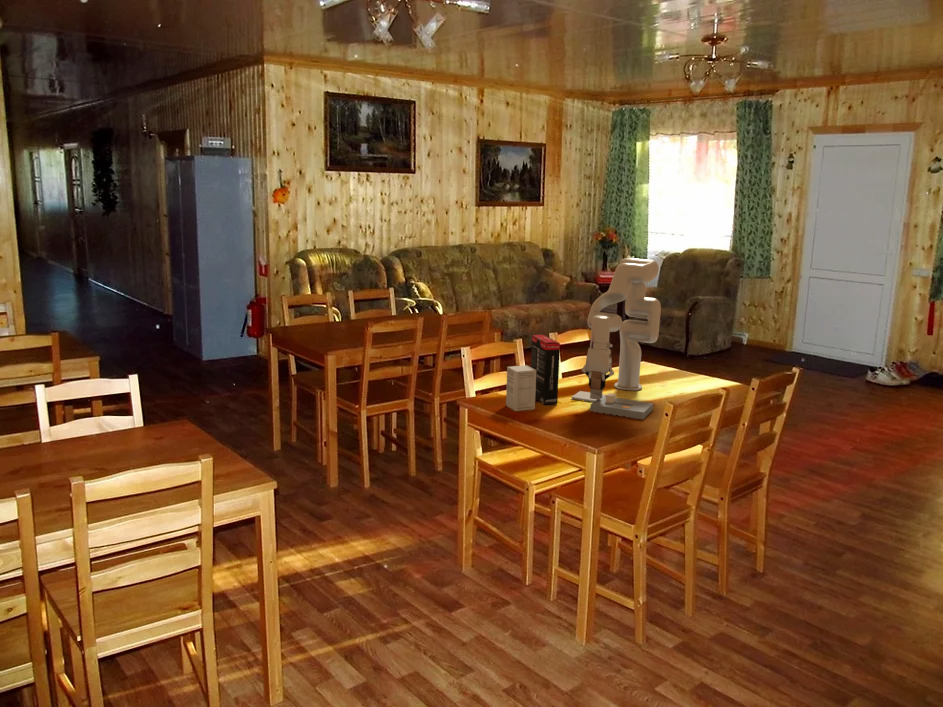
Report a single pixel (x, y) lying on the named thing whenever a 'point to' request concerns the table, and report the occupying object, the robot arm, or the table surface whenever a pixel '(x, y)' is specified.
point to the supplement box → (521, 388)
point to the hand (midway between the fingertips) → (596, 388)
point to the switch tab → (610, 397)
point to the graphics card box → (545, 368)
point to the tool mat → (584, 396)
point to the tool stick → (596, 385)
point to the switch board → (622, 407)
